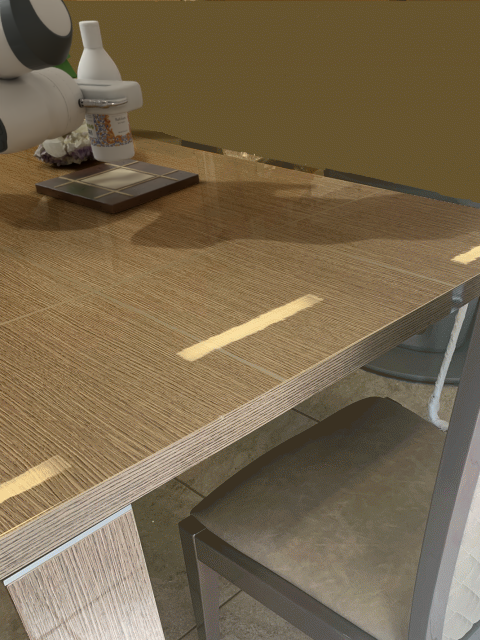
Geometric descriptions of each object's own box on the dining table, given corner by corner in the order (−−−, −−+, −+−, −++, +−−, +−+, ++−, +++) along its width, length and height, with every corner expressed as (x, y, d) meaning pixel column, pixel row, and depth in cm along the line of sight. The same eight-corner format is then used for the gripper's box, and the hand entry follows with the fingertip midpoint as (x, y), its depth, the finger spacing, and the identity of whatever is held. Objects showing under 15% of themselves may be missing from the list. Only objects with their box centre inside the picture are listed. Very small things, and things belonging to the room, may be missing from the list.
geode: (66, 201, 124) (130, 171, 130) (55, 160, 116) (124, 130, 122) (17, 154, 129) (81, 127, 135) (3, 111, 120) (72, 84, 127)
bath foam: (112, 165, 107) (84, 24, 95) (85, 159, 110) (55, 22, 98) (143, 156, 112) (121, 20, 99) (117, 150, 115) (92, 18, 103)
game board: (36, 192, 112) (34, 183, 111) (124, 165, 125) (122, 156, 124) (113, 214, 103) (111, 204, 102) (199, 182, 116) (198, 173, 115)
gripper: (110, 81, 90) (157, 66, 101) (-12, 75, 95) (45, 62, 105) (119, 129, 94) (163, 110, 104) (2, 122, 99) (55, 104, 109)
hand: (103, 86), depth 105 cm, fingers closed on bath foam, 7 cm apart
